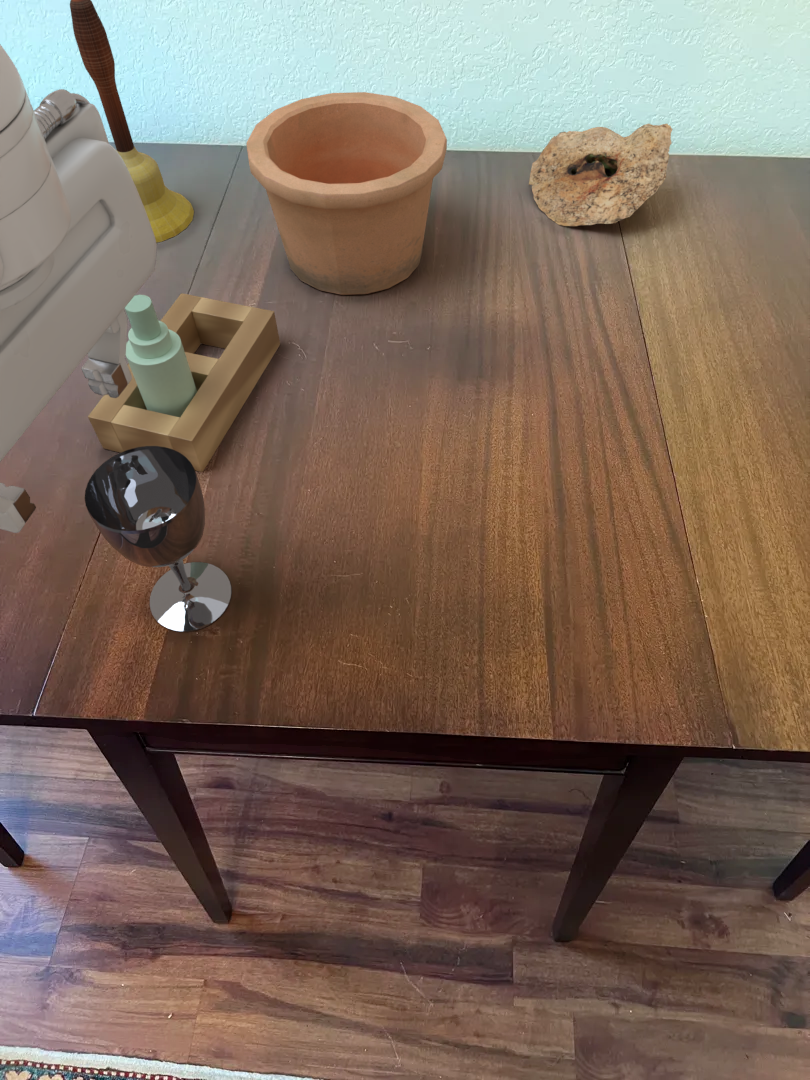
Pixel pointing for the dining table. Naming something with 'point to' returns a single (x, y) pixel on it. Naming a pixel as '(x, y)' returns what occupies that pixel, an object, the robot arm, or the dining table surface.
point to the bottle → (157, 360)
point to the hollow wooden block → (196, 381)
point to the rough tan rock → (599, 173)
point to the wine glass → (160, 531)
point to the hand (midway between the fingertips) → (67, 449)
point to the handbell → (160, 203)
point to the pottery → (349, 186)
